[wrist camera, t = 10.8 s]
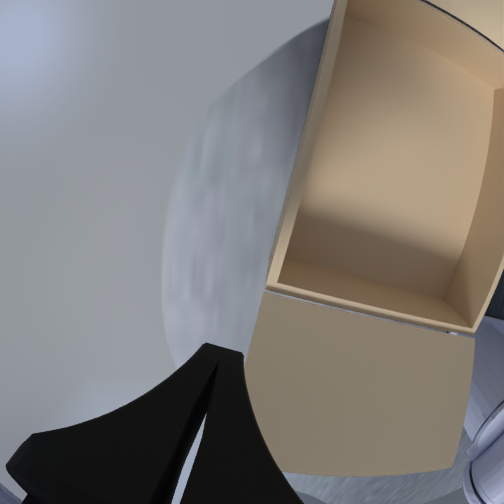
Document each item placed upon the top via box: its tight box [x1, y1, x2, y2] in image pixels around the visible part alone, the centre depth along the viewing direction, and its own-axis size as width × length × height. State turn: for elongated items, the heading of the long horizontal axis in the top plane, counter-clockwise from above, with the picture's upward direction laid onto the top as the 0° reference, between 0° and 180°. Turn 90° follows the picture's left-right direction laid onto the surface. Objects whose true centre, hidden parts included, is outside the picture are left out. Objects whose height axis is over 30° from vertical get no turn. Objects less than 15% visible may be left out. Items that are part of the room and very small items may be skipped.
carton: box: [265, 0, 504, 336], centre depth 14 cm, size 14×18×5 cm
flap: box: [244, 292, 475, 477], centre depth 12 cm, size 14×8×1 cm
